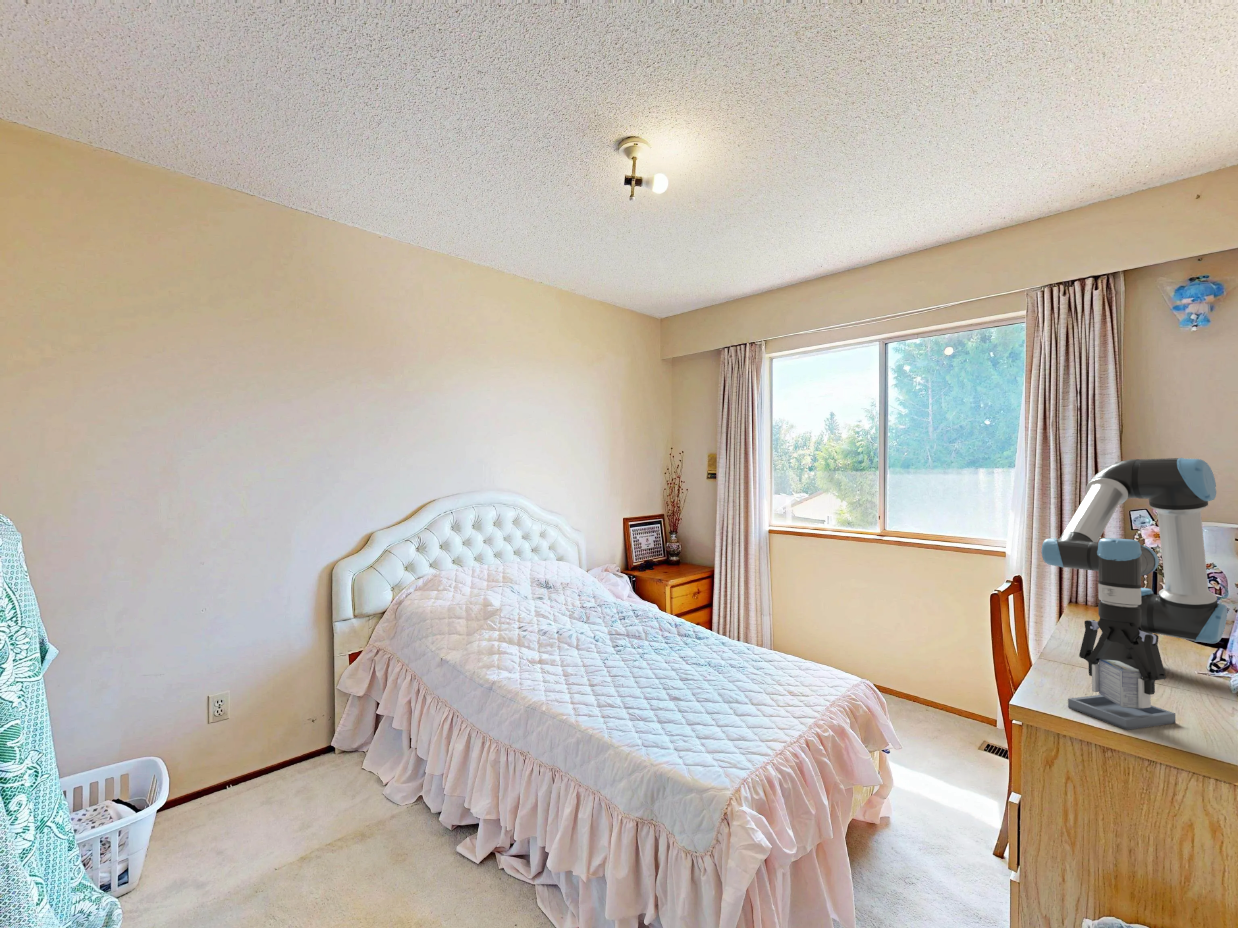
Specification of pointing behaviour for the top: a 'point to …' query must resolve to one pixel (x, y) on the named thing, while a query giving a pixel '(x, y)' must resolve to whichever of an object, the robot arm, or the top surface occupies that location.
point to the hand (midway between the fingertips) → (1120, 698)
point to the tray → (1121, 713)
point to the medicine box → (1119, 683)
